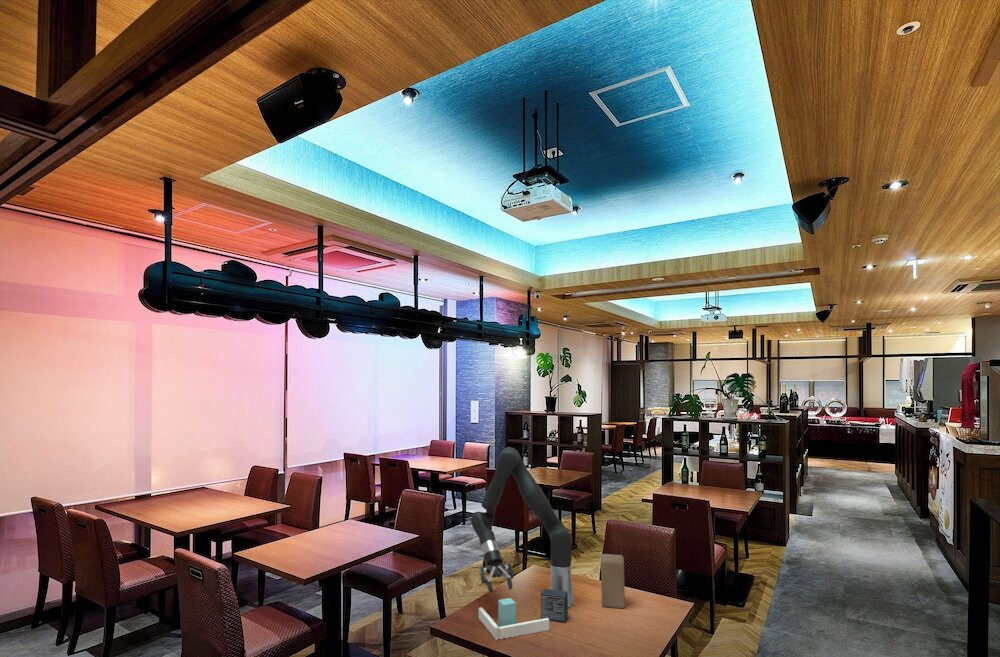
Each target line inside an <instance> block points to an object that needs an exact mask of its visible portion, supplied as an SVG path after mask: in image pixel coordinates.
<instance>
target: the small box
mask: <svg viewBox="0 0 1000 657" xmlns="http://www.w3.org/2000/svg"><path fill="white" fill-rule="evenodd" d="M540 616H541V617H540V619H544V618H548V619H549V622H551V621H552V622H557V623H558V622H559V623H563V624H564V623H566V621H567V620H568V618H569V607H568V592H567V591H558V590H551V588H550V589H549V588H544V589H542V591H541V593H540Z"/></svg>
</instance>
